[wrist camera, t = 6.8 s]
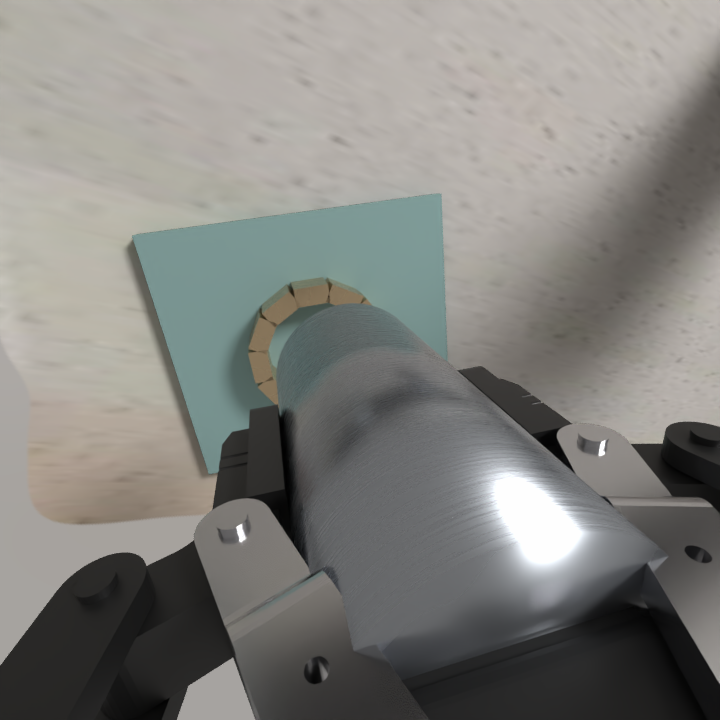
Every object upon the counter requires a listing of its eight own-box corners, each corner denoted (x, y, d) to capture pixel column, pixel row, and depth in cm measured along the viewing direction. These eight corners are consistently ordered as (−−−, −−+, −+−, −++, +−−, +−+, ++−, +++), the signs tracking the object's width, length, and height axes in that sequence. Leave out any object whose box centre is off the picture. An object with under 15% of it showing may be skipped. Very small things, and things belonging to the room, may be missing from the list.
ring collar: (372, 268, 29) (382, 274, 27) (385, 387, 33) (394, 401, 30) (237, 290, 28) (234, 299, 25) (266, 412, 31) (266, 429, 29)
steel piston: (416, 292, 14) (733, 484, 5) (422, 422, 16) (651, 740, 6) (263, 316, 13) (274, 610, 4) (289, 450, 15) (338, 861, 6)
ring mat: (435, 193, 29) (441, 193, 28) (444, 413, 36) (449, 419, 35) (136, 234, 26) (131, 235, 25) (210, 466, 33) (208, 474, 32)
